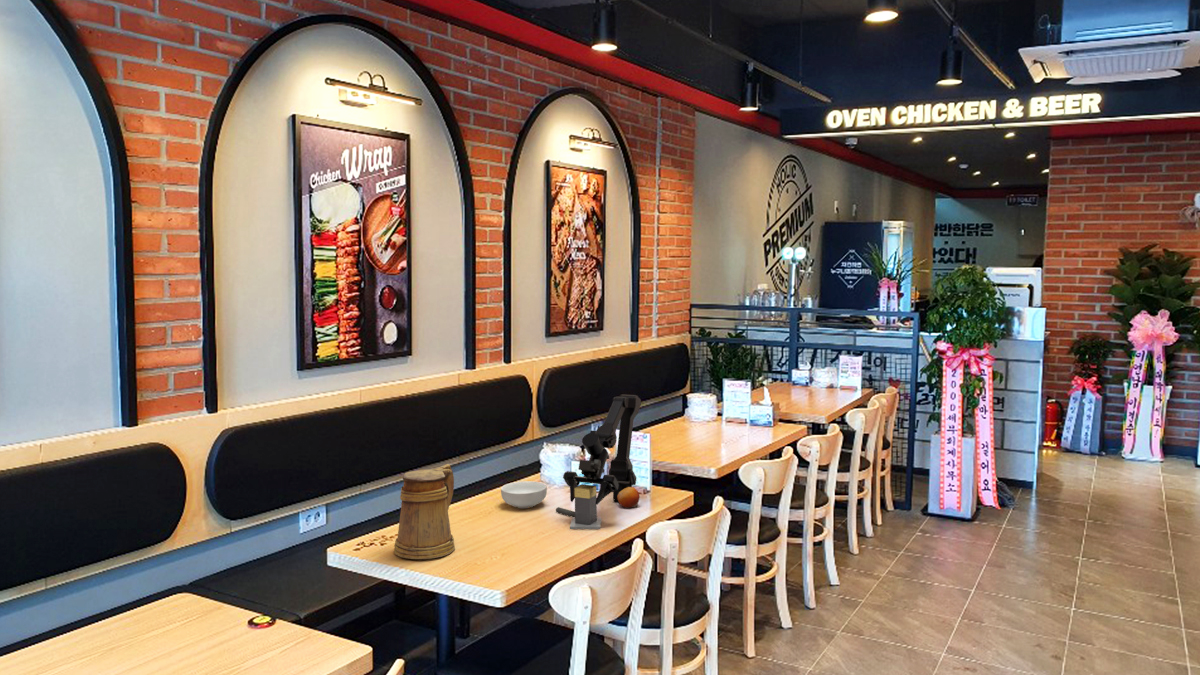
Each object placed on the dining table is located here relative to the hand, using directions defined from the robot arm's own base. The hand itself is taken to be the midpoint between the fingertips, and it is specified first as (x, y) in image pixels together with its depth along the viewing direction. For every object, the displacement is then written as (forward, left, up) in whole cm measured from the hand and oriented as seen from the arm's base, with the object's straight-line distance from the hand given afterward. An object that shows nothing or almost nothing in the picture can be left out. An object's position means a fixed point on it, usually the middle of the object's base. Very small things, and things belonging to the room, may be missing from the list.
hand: (583, 502), depth 297 cm
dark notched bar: (+6, -12, -8) cm, 16 cm away
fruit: (-15, -24, -8) cm, 29 cm away
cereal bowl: (+23, -25, -8) cm, 35 cm away
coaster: (-1, -1, -8) cm, 8 cm away
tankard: (+46, +24, -8) cm, 53 cm away
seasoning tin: (-1, -1, -7) cm, 7 cm away
